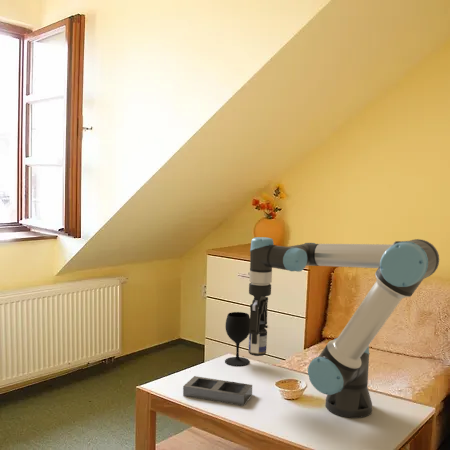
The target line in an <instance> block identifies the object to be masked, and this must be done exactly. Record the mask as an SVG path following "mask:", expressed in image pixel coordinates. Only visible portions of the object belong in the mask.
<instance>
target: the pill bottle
mask: <svg viewBox="0 0 450 450" xmlns="http://www.w3.org/2000/svg"><path fill="white" fill-rule="evenodd" d="M259 334H260V335H259V353H252V352H250V351H251V334H249V335H248V349H247V351H248V354H249V355H251V356H253V357H261V356H262V357H263V356H266V354H267V344H268V342H267V340H268V329H267V328H265V322H264V321H260V326H259Z"/></svg>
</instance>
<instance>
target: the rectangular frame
mask: <svg viewBox="0 0 450 450" xmlns="http://www.w3.org/2000/svg"><path fill="white" fill-rule="evenodd" d="M252 395H253V384H250V383H249V384H248V383H243V382H236V381H235V382H234V381H229V380H221V379H217V378H210V377H203V376H196V375H194V376H193V377H192V378H191V379H189V380H188V381H187V382H186V383H184V385H183V388H182V396H183V397H186V398H187V397H188V398H194V399H199V400H205V401H211V402H217V403H225V404H230V405H235V406H242V407H245V405H246V404H247V402H248V401H249V399H250V398H251V397H252Z"/></svg>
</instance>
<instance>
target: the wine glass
mask: <svg viewBox="0 0 450 450" xmlns="http://www.w3.org/2000/svg"><path fill="white" fill-rule="evenodd" d="M249 327H250V314H249V313H247V312H242V311H234V312H233V311H231V312H229V313H227V316H226V319H225V332H226V334H227V336H228V338H229V339H230V340H231V341H232V342H234V343H235V346H236V347H235V349H236V350H235V351H236V353H235V356H232V357H228V358H225V360H224V363H225V364H226V365H228V366H230V365H231V367H245V366H248V365H250V362H251V361H250V360H249V359H248V358H247V357H241V356H240V352H239V351H240V344H241V343H243V341H245V340H246V339H247V337H248V338H249Z"/></svg>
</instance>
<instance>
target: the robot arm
mask: <svg viewBox="0 0 450 450" xmlns="http://www.w3.org/2000/svg"><path fill="white" fill-rule="evenodd" d="M250 242H251V243H250V249H249V256H250V257H249V258H250V259H249V261H250V262H249V272H248V275H249V282H250V283H249V284H248V294H249V295H250V296H253V300H252V303H251V304H250V308H249V309H250V312H249V313H250V314H249V317H250V327H249V334H251V351H250V352H252V353H259V335H260V334H259V326H260V321H264V322H265V329H268V327H269V325H268V303H269V296H271V295H272V284H271V283H272V280H273V278H272V277H273V269H279V270H282V271H283V270H284V271H289V272H298V273H299V272H302V271H303V270H304V269H305V268H306V267H307V266H308V267H309V266H311V267H313V266H314V267H315V266H316V267H338V268H339V267H340V268H365V269H377V270H376V271H375V273H374V275H375V279H376V281H374V283H373V285H372V287H371V288H370V289H369V291H368V292H367V294H366V295H365V297H364V298H363V300H362V301H361V303H360V305H359V306H358V307H357V309H356V310H355V311H354V313H353V315H352V316H351V317H350V319H349V320H348V321H347V324H346V325H345V326H344V328H343V329H342V331H341V332H340V334H339V335H338V336H337V337H336V338H334V339H333V340H329V341H328V342H327V344H326V345H325V346H324V348H323V349H322V351H321V352H320V354H319V355H318V356H316V357H314V358H313V359H312V360H311V361H310V362H309V365H308V367H307V375H308V378H309V382H310V383H311V385H312V386H313V387H314V389H316V390H317V391H318V392H319V393H322V394H323V395H326V397H325V408H326V409H327V410H328V411H329V412H330V413H332V414H335V415H337V416H341V417H345V418H351V419H352V418H354V419H355V418H365V417H367V416H369V415H371V414H372V412H373V402H372V398H371V395H370V391H369V387H368V384H369V383H368V382H369V366H370V365H369V364H370V363H369V362H370V344H371V343H372V342H373V340H374V339H375V337H376V336H377V335H378V334H379V332H380V331H381V329H382V328H383V327H384V325H385V324H386V322H387V320H388V319H389V318H390V317H391V316H392V314H393V312H394V311H395V309H396V308H397V307H398V306H399V304H400V302H401V301H402V300H403V299H405V298H411V297H412V295H414V293H415V292H416V290H417V289H418V288H419V286H420V285H421V284H422V283H423V281H424V280H425V279H427V278H429V277H431V276H432V275H433V274H434V273H435V272H436V271H437V270H438V267H439V265H440V255H439V250H437V248H436V247H435V246H434V245H433V243H431V242H429V241H427V240H425V239H420V238H417V239H416V238H415V239H411V240H400V241H399V240H397V241H396V240H395V241H394V242H393V243H391V244H386V243H385V244H384V243H383V244H379V243H378V244H377V243H376V244H374V243H373V244H369V243H315V242H305V243H301V244H296V245H295V244H294V245H290V246H284V245H277V244H276V245H275V244H274V239H273V238H270V237H265V236H264V237H263V236H261V237H260V236H257V237H256V236H255V237H254V238H252V239H251V241H250Z"/></svg>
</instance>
